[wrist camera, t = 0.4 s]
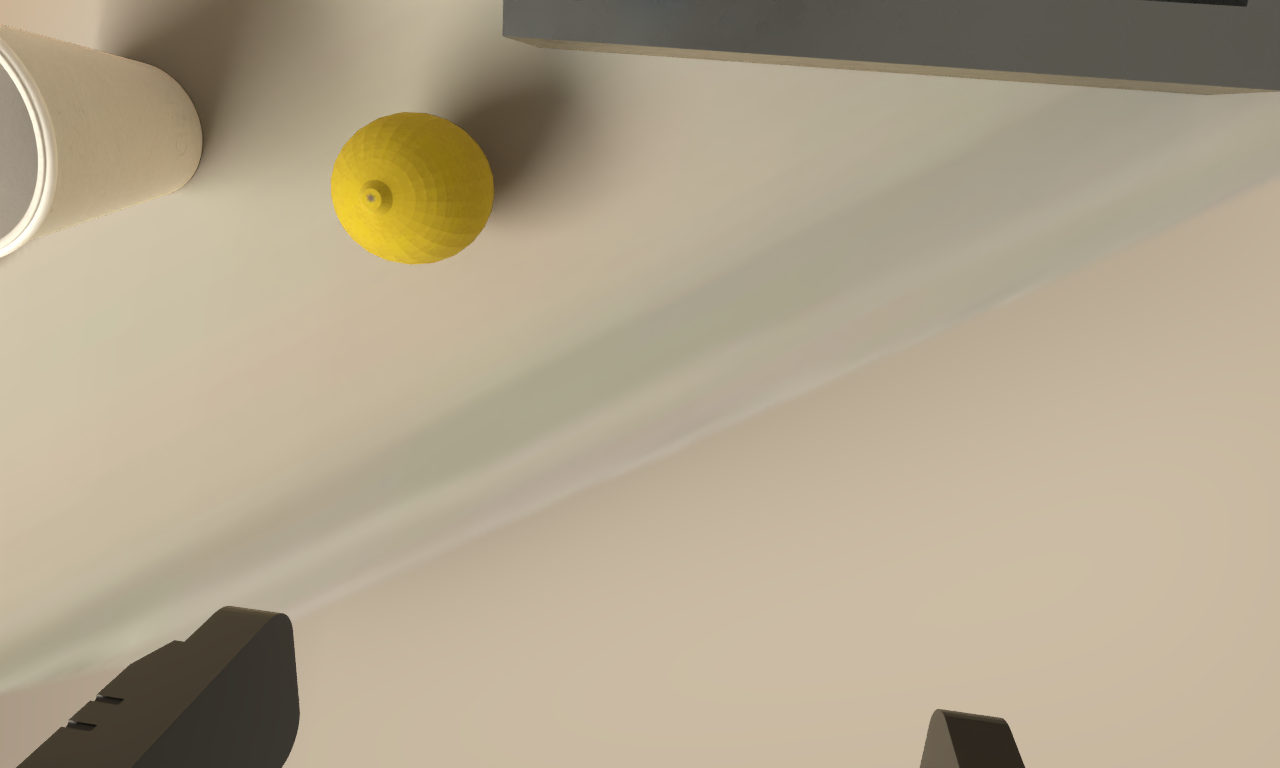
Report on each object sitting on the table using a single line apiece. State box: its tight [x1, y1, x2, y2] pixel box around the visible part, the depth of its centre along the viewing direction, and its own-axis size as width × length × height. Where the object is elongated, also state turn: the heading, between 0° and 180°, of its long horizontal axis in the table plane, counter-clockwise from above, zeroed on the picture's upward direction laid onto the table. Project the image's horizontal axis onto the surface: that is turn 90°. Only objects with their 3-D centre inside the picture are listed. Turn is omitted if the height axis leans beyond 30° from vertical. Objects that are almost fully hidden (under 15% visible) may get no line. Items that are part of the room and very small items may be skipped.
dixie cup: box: [0, 24, 202, 257], centre depth 32 cm, size 8×8×10 cm
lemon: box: [331, 112, 494, 264], centre depth 32 cm, size 6×6×8 cm
